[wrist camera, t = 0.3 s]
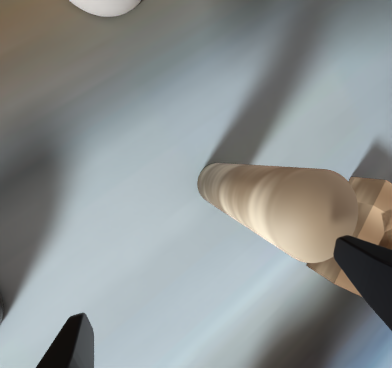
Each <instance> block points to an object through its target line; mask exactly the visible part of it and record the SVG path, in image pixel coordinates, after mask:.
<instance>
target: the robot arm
mask: <svg viewBox="0 0 392 368" xmlns="http://www.w3.org/2000/svg"><path fill="white" fill-rule="evenodd" d="M333 256H334V259H335V261H336V262H337V264H338V265H339V266H340V268H341V269H342V270H343V272H344V273H345V274H346V276H347V277H348V279H349V280H350V281H351V283H352V284H353V285H354V287H355V288H356V289H357V291H358V292H359V293H360V295H361V296H362V297H363V298H364V300H365V301H366V302H367V303H368V304H369V305H370V307H371V308H372V309H373V310H374V311H375V312H376V313H377V314H378V316H379V317H380V318H381V319H382V320H383V321H384V322H385V324H386V325H387V326H388V327H389V328H390V329H391V330H392V250H391V249H388V248H385V247H382V246H379V245H376V244H373V243H370V242H367V241H364V240H361V239H359V238H356V237H353V236H350V235H345V236H341V237H338V238H337V239H336V242H335V247H334V252H333ZM36 368H94V332H93V328H92V326H91V324H90V322H89V320H88V318H87V316H86V314H85V313H80V314H76V315H73V316H71V317H69V318H68V320H67V321H66V323H65V324H64V326H63V327H62V329H61V330H60V332H59V333H58V335H57V336H56V338H55V340H54V341H53V343H52V344H51V346H50V347H49V349H48V350H47V352H46V353H45V355H44V356H43V358H42V359H41V361H40V362H39V364H38V365H37V367H36Z"/></svg>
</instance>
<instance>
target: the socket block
mask: <svg viewBox="0 0 392 368" xmlns="http://www.w3.org/2000/svg"><path fill="white" fill-rule="evenodd" d="M349 183H350V185H351V186H352V188H353V190H354V192H355V194H356V198H357V202H358V220H357V225H356V228H355V231H354V233H353V235H352V236H353V237H356V238H359V239H361V240H364V241H367V242H370V243H373V244H376V245H379V246H382V247H385V248H388V249H391V250H392V183H390V182H389V181H387V180H381V179H370V178H359V177H351V178H350V180H349ZM306 266H308V267H309V268H311V269H312V270H314V271H315V272H317V273H318V274H320V275H321V276H323V277H325V278H326V279H328V280H329V281H331V282H332V283H334V284H336V285H338V286H340V287H342V288H344V289H346V290H348V291H351V292H353V293H355V294H357V295H359V296H361V295H360V293H359V292H358V291H357V289H356V288H355V287H354V285H353V284H352V283H351V281H350V280H349V279H348V277H347V276H346V274H345V273H344V272H343V270H342V269H341V268H340V266H339V265H338V264H337V262H336V261H335V259H334V257H332V258H330V259H328V260H326V261H323V262H318V263H307V265H306ZM361 297H362V296H361Z"/></svg>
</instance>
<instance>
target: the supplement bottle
mask: <svg viewBox="0 0 392 368" xmlns="http://www.w3.org/2000/svg"><path fill="white" fill-rule="evenodd" d="M2 317H3V301H2V298H1V296H0V323H1V321H2Z"/></svg>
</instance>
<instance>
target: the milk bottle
mask: <svg viewBox="0 0 392 368" xmlns="http://www.w3.org/2000/svg"><path fill="white" fill-rule="evenodd" d="M69 1H70V2H72V3H73V4H74V5H76V6H77V7H79V8H80V9H82V10H84V11H86V12H88V13H90V14H94V15H97V16H103V17H113V16H120V15H122V14H125V13H127V12H129V11H130V10H132V9H134V8H135V7H136V6H137V5H138V4H139V3H140V2H141V0H69Z"/></svg>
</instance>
